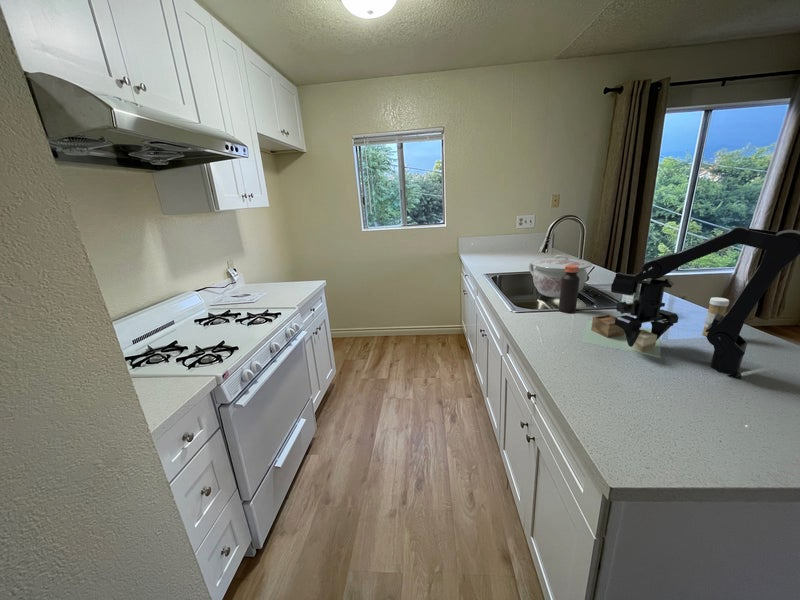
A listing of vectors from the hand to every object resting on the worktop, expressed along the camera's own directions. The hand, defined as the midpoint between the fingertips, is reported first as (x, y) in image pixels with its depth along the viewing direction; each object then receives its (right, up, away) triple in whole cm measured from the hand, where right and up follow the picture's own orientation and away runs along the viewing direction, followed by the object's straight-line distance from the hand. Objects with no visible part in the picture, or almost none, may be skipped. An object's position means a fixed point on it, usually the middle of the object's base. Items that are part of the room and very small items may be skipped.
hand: (641, 344), depth 103 cm
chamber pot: (+2, +17, +60) cm, 62 cm away
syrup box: (+20, +9, +33) cm, 39 cm away
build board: (-1, +1, +9) cm, 9 cm away
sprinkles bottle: (+30, +2, +7) cm, 31 cm away
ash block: (0, -1, 0) cm, 1 cm away
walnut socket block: (-3, +3, +12) cm, 13 cm away
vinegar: (-4, +10, +38) cm, 39 cm away
